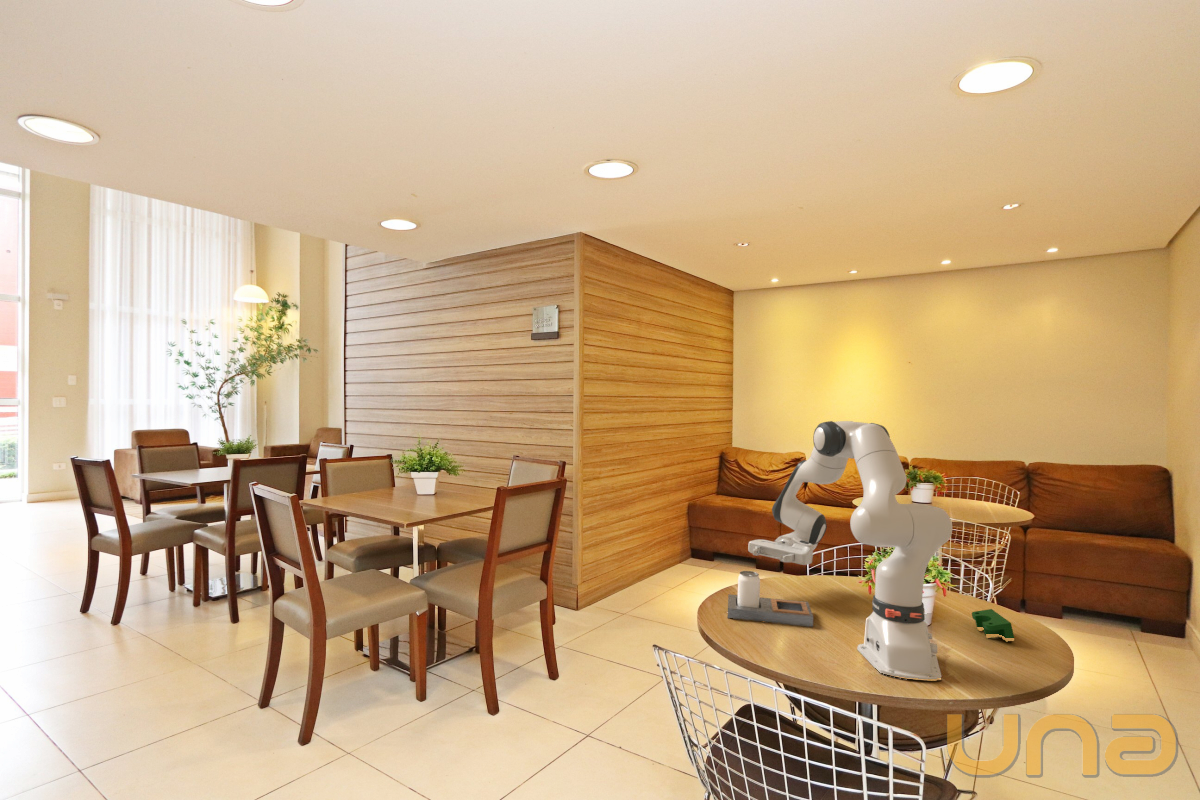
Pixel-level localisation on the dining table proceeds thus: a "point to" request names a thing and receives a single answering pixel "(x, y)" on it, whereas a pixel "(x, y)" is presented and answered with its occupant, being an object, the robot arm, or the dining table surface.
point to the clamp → (993, 623)
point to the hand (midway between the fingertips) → (768, 556)
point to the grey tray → (773, 611)
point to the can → (748, 589)
